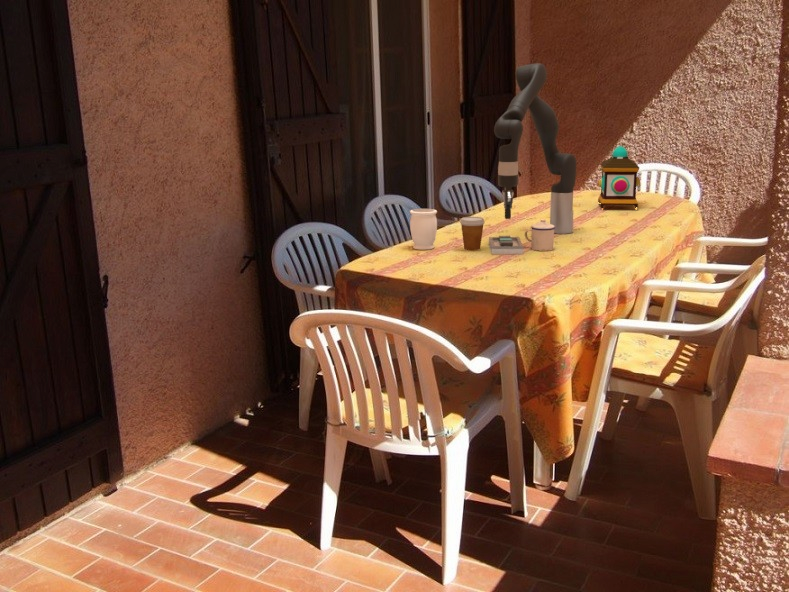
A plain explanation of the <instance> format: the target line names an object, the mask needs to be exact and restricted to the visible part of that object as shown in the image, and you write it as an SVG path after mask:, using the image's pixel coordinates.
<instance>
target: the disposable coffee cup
mask: <svg viewBox="0 0 789 592" xmlns="http://www.w3.org/2000/svg"><path fill="white" fill-rule="evenodd" d="M459 222H460V225H461V232H462V242H463V243H462V244H463V249H464V250H465V251H479V250H481V246H482V239H483V238H482V237H483V233H484V232H483V230H484V225H485V220H484V217H481V216H464V217H462V218H461V219H460V221H459Z"/></svg>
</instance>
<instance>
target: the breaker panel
mask: <svg viewBox="0 0 789 592" xmlns="http://www.w3.org/2000/svg"><path fill="white" fill-rule="evenodd" d="M510 237H511V239H512V242H513V246H501V244H500V241H499V236H498V237H497V236H489V237H488V246H489V250H490V253H491V255H523V254H524V245H523V243H522V240H521V238H520V237H519V236H510Z"/></svg>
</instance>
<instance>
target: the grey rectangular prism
mask: <svg viewBox="0 0 789 592" xmlns="http://www.w3.org/2000/svg"><path fill="white" fill-rule="evenodd" d="M498 237H499V241H500V238H511V237H512V236H511V235H499V236H498Z"/></svg>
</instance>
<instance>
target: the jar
mask: <svg viewBox="0 0 789 592" xmlns="http://www.w3.org/2000/svg"><path fill="white" fill-rule="evenodd" d="M409 211H410V212H409V213H410V215H411V216H410V220H409V228H410V229H409V230H410V233H411V235H410V236H411V239H412V242H413V247H412V248H413V249H414V250H418V251H428V250H433V249H434V248H435V245H434V243H435V241H436V238H437V237H436V236H437V232H438V231H437V230H438V220H437V215H436V214H437V213H438V211H437V209H432V208H415V209H411V210H409Z"/></svg>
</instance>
